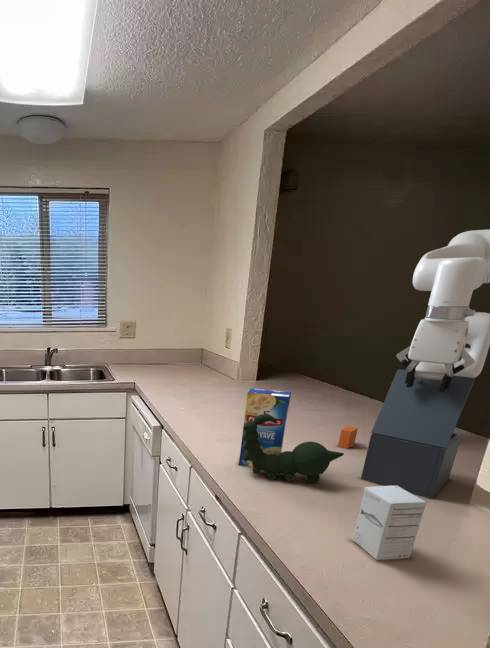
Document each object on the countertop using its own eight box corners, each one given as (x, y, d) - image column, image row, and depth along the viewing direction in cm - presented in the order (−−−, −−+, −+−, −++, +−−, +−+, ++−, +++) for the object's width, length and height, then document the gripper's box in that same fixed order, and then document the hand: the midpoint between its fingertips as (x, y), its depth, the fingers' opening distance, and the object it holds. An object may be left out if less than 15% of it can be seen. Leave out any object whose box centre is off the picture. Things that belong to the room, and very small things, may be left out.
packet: (344, 442, 148) (348, 425, 146) (354, 444, 146) (358, 427, 144) (337, 446, 144) (341, 429, 142) (347, 448, 142) (351, 431, 140)
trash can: (382, 462, 131) (392, 421, 127) (448, 478, 120) (462, 434, 115) (360, 478, 120) (371, 434, 116) (431, 498, 109) (445, 450, 104)
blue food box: (277, 471, 125) (289, 397, 118) (238, 464, 130) (247, 392, 122) (279, 463, 131) (291, 391, 123) (242, 457, 136) (250, 388, 128)
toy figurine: (241, 483, 121) (343, 490, 112) (242, 418, 115) (351, 419, 106) (242, 471, 129) (338, 476, 120) (244, 409, 123) (344, 410, 114)
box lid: (398, 370, 117) (395, 361, 113) (474, 379, 105) (474, 369, 102) (371, 433, 116) (368, 426, 112) (446, 449, 104) (445, 441, 100)
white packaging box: (350, 540, 91) (363, 485, 87) (383, 538, 92) (398, 484, 87) (375, 561, 84) (391, 503, 80) (411, 559, 85) (428, 501, 80)
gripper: (496, 315, 98) (473, 392, 105) (407, 312, 111) (390, 381, 117) (490, 317, 94) (466, 397, 100) (397, 313, 106) (381, 385, 112)
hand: (425, 388), depth 109 cm, fingers closed on box lid, 6 cm apart
